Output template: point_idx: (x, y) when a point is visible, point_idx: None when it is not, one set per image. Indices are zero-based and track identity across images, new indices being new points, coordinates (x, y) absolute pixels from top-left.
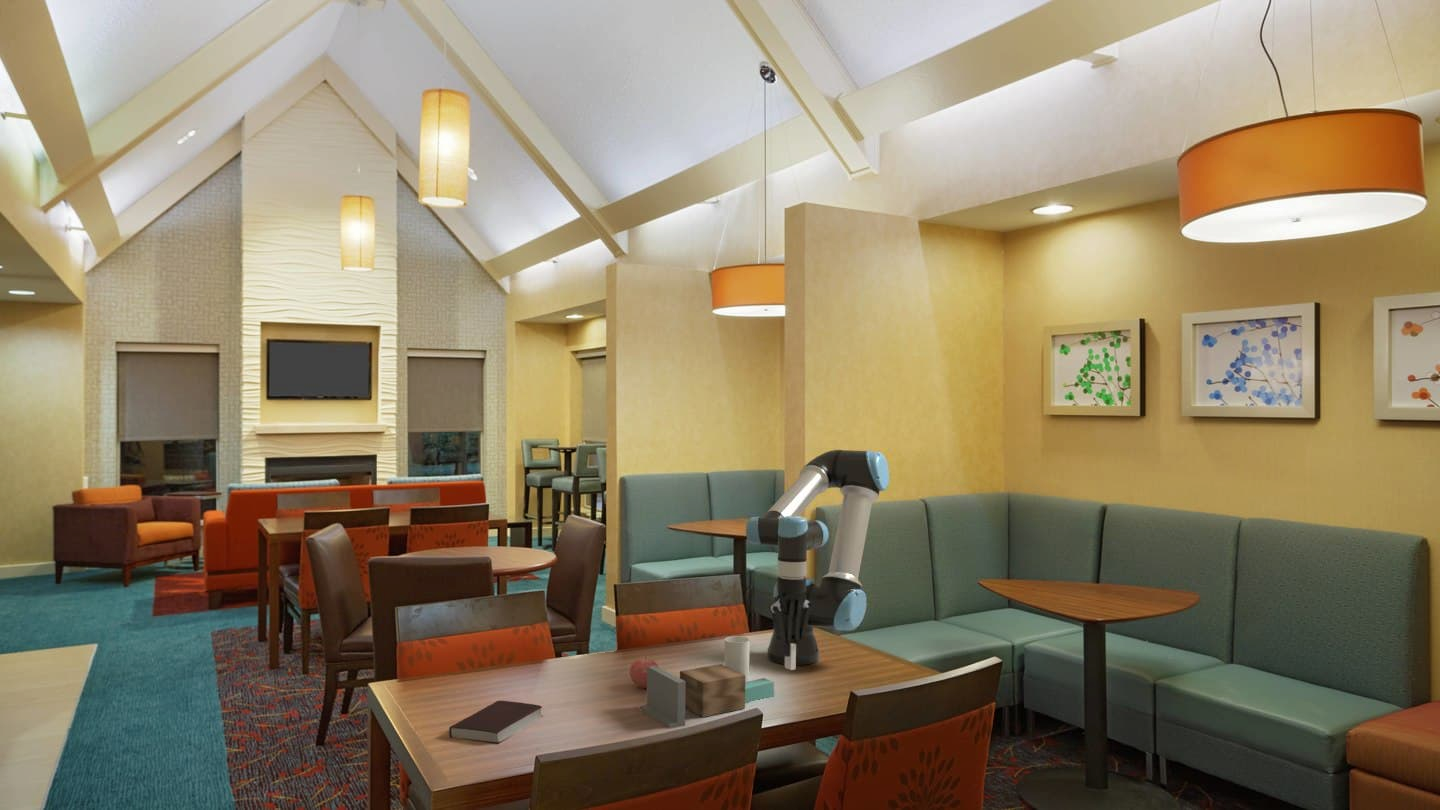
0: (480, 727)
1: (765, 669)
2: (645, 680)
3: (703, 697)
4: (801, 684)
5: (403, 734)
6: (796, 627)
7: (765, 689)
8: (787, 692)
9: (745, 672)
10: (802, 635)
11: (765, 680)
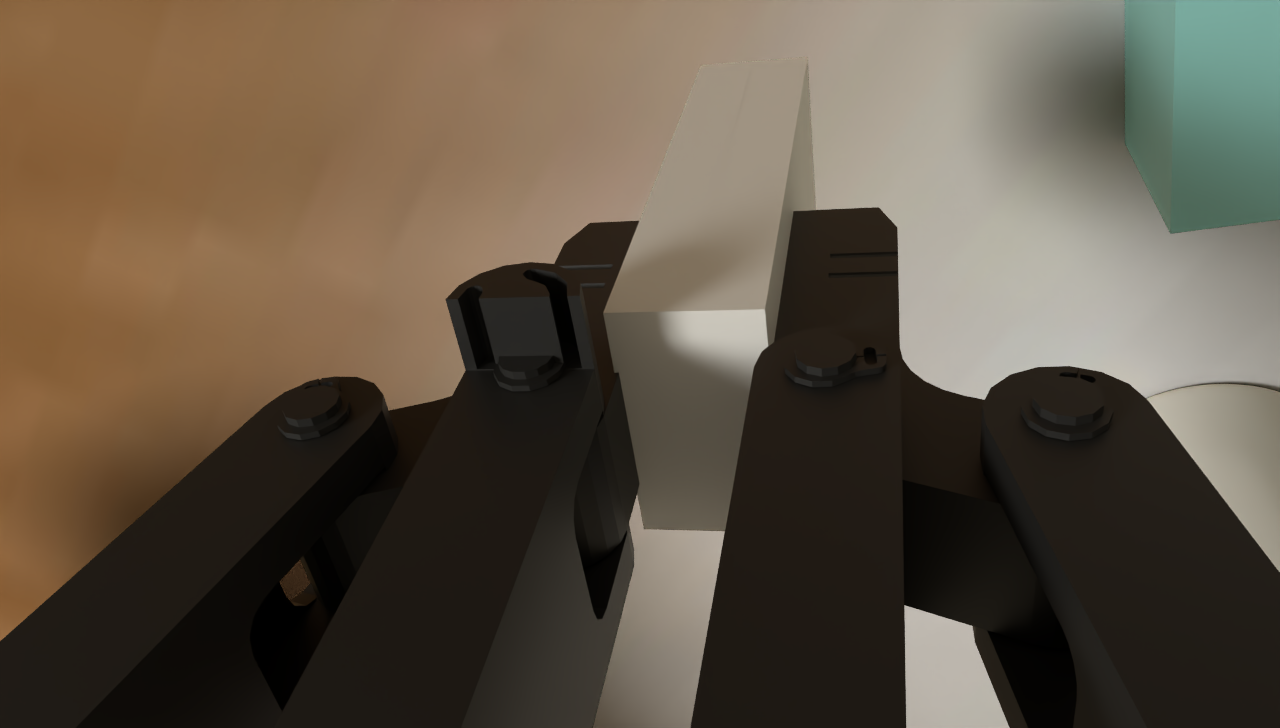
0: None
1: (628, 677)
2: None
3: None
4: (508, 196)
5: None
6: (439, 695)
7: None
8: (835, 6)
9: (1238, 502)
10: (304, 458)
11: (1241, 118)
